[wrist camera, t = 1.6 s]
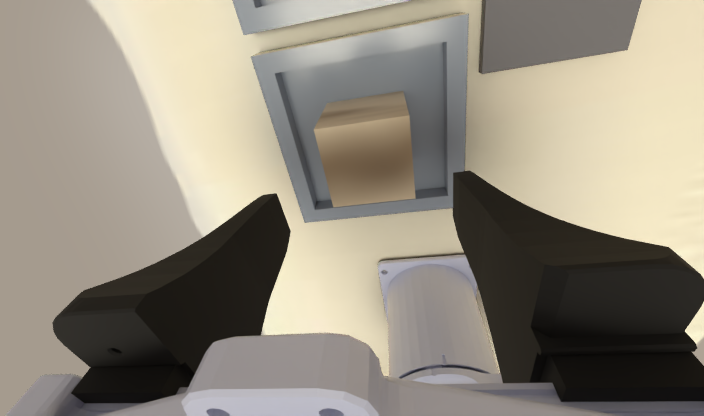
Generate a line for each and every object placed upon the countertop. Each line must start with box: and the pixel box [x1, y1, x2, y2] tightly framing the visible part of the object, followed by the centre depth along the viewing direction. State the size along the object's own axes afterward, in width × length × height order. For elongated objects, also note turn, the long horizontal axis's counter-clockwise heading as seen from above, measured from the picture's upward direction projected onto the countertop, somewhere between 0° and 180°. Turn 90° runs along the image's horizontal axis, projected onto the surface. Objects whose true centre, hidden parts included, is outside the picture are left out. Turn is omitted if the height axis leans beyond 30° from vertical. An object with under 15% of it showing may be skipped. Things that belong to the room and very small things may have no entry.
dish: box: [251, 13, 469, 223], centre depth 19 cm, size 11×11×2 cm
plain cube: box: [314, 91, 416, 207], centre depth 17 cm, size 4×4×4 cm
